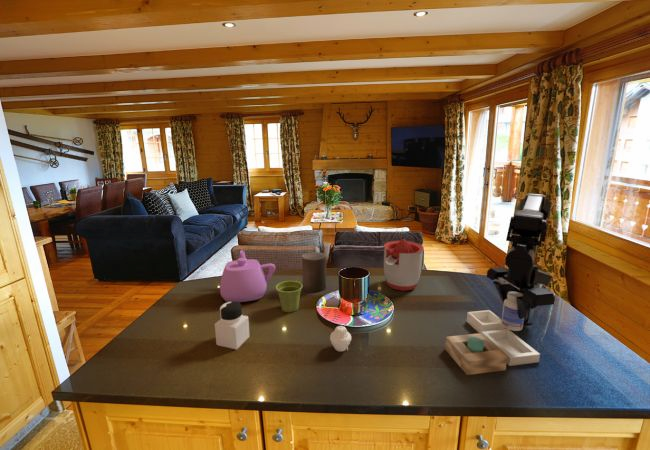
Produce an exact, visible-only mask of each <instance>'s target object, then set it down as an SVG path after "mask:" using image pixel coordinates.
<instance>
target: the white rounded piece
mask: <svg viewBox="0 0 650 450" xmlns="http://www.w3.org/2000/svg"><path fill="white" fill-rule="evenodd" d="M329 340H330V342H331V345H332V346H333V348H334V350H335V351H337V352H344V351H346V350H347V348H348V347H349V345H350V344H351V341H352V334H351V333H350V332H349V331H348V329H347V328H346V327H345V326H343V325H337V326H336V327H335V328H334V331H332V332H331V334H330V335H329Z"/></svg>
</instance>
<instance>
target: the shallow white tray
mask: <svg viewBox="0 0 650 450" xmlns="http://www.w3.org/2000/svg"><path fill="white" fill-rule="evenodd" d="M481 333H482V334H483V335H484V336H485V337H486V338H487V339H488V340H490V341H491V342H492V343H493V344H494V345H495V346H496V347H497V348H498V349H500V350H501V351H502V352H503V353H504V354H505V355H506V356H507V364H506V365H507V366H508V367H511V366H512V367H513V366H520V365H526V364H528V365H529V364H534V363H535V364H536V363H539V362H540V356H541V353H540V352H538V351H537V350H536V349H534V348H533V347H532V346H531V345H529V344H528V343H526V342H525V341H524V340H523V339H522V338H521V337H520V336H518V335H517V334H515V333H514V331H513V332H512V330H509V329H507V328H505V329H502V330H493V331H484V332H481Z"/></svg>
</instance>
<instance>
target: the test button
mask: <svg viewBox="0 0 650 450" xmlns="http://www.w3.org/2000/svg"><path fill="white" fill-rule="evenodd" d="M467 348H468V349H469V350H470V351H471V352H472V353H476V352H483V348H484V341H483V340H482V339H480V338H477V337H469V338H468V343H467Z"/></svg>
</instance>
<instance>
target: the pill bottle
mask: <svg viewBox="0 0 650 450" xmlns="http://www.w3.org/2000/svg"><path fill="white" fill-rule="evenodd" d="M520 296H523V294H522V293H519V292H515V291H510V292H508V294H507V299H505V300H504V304H503V303H502V312H501V313H502V314H501V319H502V320H501V324H502V326H503V327H505V329H509V330H510V331H513V332H514V331H515V332H519V331H522V330H523V327H524V325H523V324H524V318H523V319H520V318H519V315H518V308H517V299H516V297H520Z"/></svg>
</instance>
